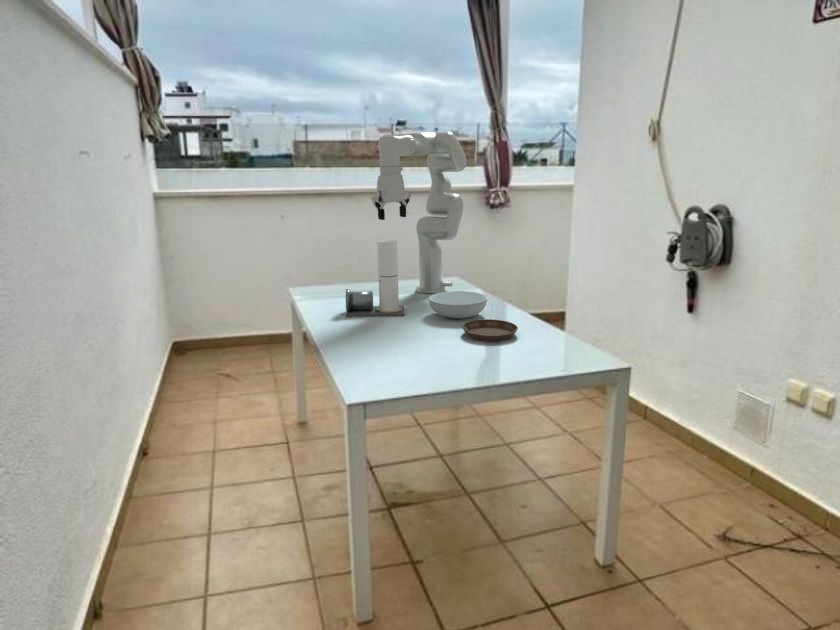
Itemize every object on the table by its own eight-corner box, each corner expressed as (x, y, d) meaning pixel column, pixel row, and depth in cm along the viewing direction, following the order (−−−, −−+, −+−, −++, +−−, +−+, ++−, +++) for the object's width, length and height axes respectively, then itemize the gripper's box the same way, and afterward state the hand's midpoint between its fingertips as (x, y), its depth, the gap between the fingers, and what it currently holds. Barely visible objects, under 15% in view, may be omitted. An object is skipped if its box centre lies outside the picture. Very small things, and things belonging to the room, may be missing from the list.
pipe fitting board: (404, 308, 225) (403, 285, 223) (404, 316, 213) (403, 291, 211) (348, 309, 225) (347, 285, 222) (345, 317, 213) (344, 292, 211)
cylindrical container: (391, 311, 214) (389, 243, 208) (375, 309, 218) (373, 241, 211) (402, 307, 220) (401, 240, 214) (386, 305, 224) (384, 239, 217)
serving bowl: (423, 310, 222) (423, 292, 220) (477, 307, 226) (477, 289, 224) (436, 325, 202) (436, 305, 200) (494, 321, 206) (495, 301, 204)
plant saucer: (516, 345, 180) (517, 335, 179) (459, 342, 183) (459, 333, 182) (518, 329, 197) (518, 320, 196) (465, 327, 200) (465, 318, 199)
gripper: (403, 169, 223) (405, 215, 228) (364, 172, 213) (367, 219, 218) (415, 170, 217) (417, 216, 222) (376, 172, 207) (378, 221, 212)
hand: (392, 218), depth 220 cm, fingers open, 9 cm apart
